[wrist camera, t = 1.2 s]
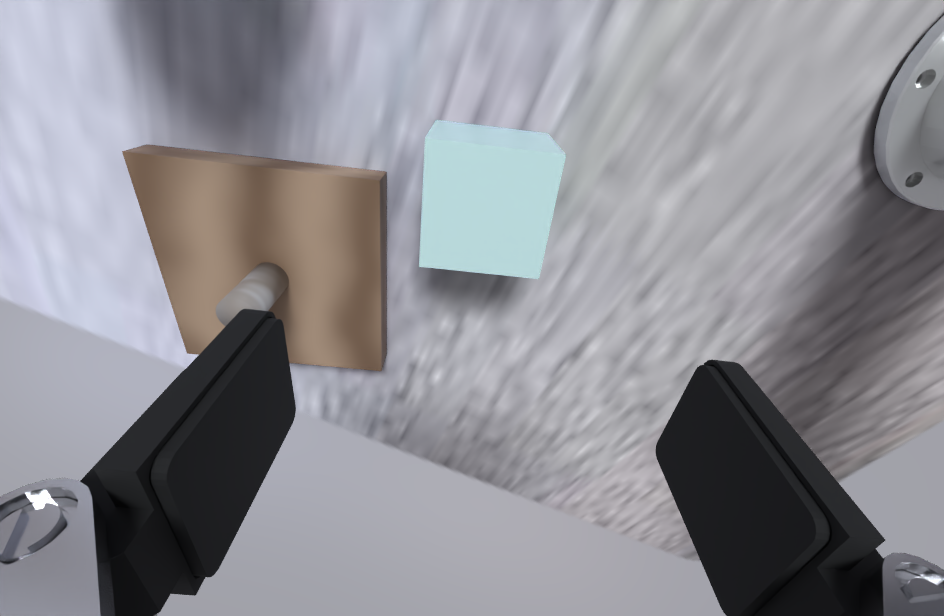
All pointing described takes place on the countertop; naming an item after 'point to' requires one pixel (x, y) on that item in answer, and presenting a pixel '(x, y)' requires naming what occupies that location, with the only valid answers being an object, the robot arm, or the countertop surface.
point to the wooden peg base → (270, 248)
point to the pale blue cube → (488, 198)
